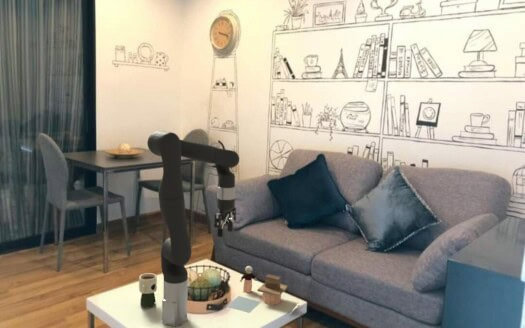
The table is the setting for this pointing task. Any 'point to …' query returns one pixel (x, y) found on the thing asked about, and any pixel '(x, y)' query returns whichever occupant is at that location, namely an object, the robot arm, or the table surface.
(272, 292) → the lid
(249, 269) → the grandmother figurine
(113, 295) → the table surface
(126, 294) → the table surface
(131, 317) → the table surface
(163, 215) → the robot arm
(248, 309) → the mat
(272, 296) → the bowl
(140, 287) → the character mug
